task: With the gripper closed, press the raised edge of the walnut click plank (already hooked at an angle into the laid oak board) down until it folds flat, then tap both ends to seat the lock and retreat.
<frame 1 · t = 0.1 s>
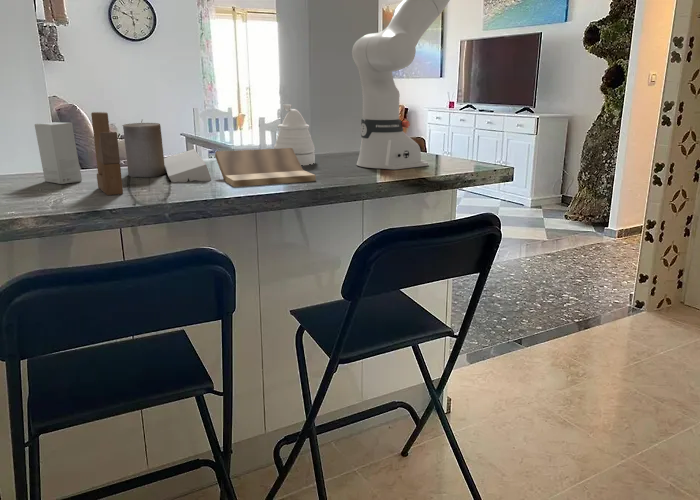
laid oak board: (270, 181, 152), on the table
click plank: (259, 163, 158), point 3 cm above the table, hinge at 32.0°
decorative molding: (185, 174, 166), on the table
skincare box: (62, 182, 148), on the table
wooden block: (110, 192, 137), on the table
honey pot: (294, 163, 184), on the table
pillar candle: (146, 175, 160), on the table
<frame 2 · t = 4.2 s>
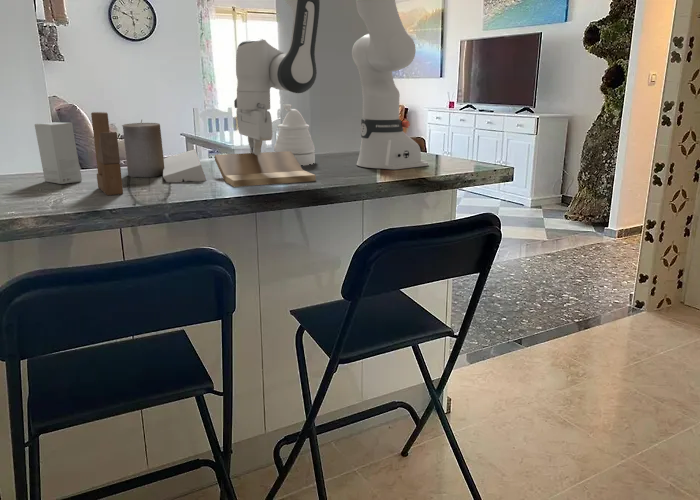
hand: (255, 154, 160), 6 cm above the table, fingers closed
click plank: (259, 165, 159), point 3 cm above the table, hinge at 25.0°, touching gripper
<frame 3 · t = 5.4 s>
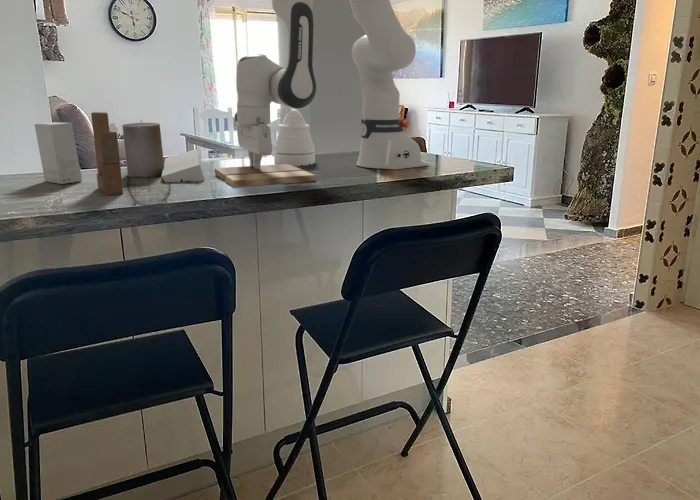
hand: (255, 167, 161), 2 cm above the table, fingers closed on click plank
click plank: (258, 171, 160), point 1 cm above the table, hinge at 1.6°, touching gripper
everything else where it was.
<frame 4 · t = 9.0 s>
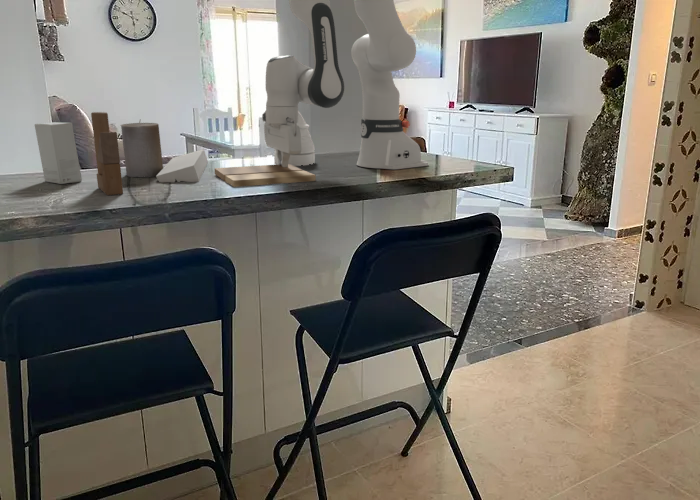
hand: (283, 166, 165), 2 cm above the table, fingers closed, pressing on click plank
click plank: (258, 171, 160), point 1 cm above the table, hinge at 1.6°, touching gripper
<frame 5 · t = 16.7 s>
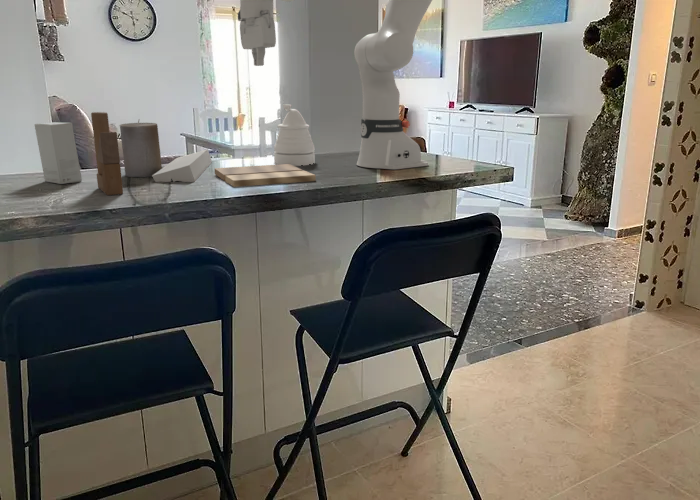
hand: (258, 65, 161), 29 cm above the table, fingers closed
click plank: (258, 171, 160), point 1 cm above the table, hinge at 1.6°
at the end: click plank at +2° (first picture: +32°); click plank touching nothing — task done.
